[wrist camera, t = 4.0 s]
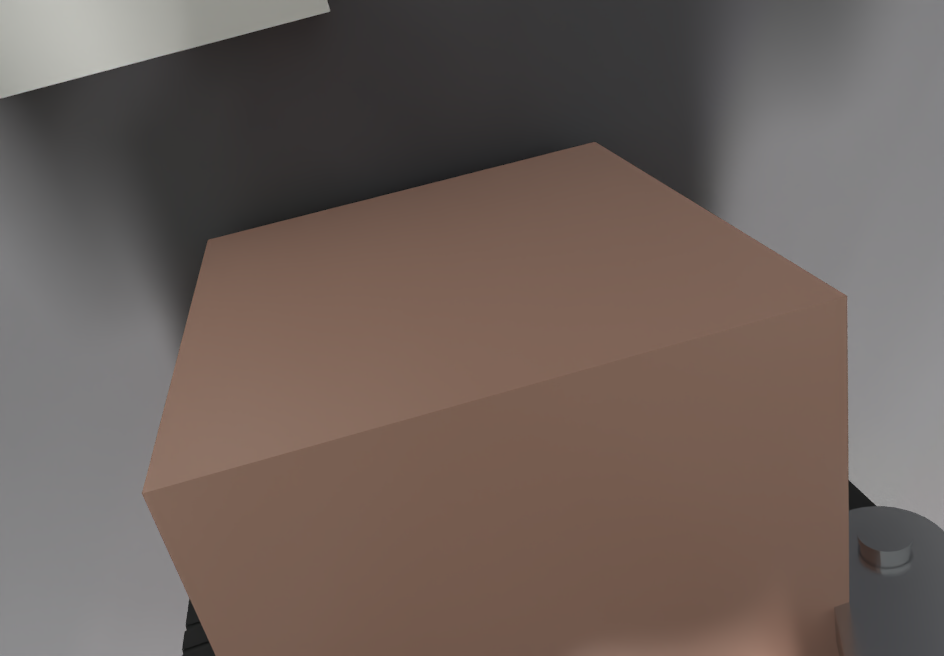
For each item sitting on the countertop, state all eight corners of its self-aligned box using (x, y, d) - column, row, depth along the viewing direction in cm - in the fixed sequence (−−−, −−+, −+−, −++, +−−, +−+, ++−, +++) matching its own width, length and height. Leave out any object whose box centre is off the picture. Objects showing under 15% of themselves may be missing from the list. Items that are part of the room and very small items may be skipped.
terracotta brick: (594, 141, 12) (846, 295, 7) (659, 613, 16) (851, 951, 11) (207, 239, 12) (140, 494, 6) (372, 702, 15) (419, 1106, 10)
